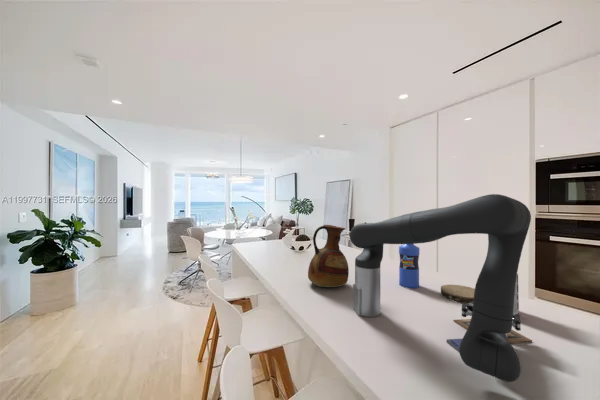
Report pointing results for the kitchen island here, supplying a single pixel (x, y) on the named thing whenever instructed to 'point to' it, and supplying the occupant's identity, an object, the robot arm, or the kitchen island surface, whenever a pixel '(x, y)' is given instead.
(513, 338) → the marked board
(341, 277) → the ceramic pitcher
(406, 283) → the water bottle
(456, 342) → the ink pad
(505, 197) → the robot arm
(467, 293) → the tan flat ringed disc
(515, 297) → the candy bar box
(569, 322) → the kitchen island surface
